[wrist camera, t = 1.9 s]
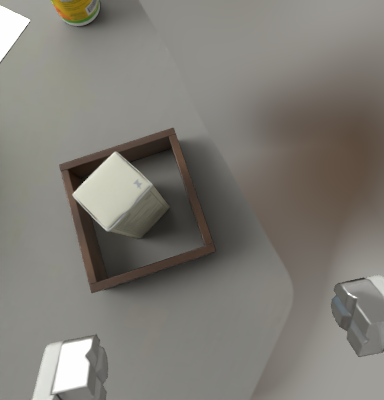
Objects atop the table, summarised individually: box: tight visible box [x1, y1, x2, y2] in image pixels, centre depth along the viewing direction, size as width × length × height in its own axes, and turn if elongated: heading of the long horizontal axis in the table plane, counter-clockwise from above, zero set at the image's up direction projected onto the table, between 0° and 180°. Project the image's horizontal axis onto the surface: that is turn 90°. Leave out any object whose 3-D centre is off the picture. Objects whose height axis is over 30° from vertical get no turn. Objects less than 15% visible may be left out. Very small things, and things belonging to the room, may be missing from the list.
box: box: [72, 152, 169, 239], centre depth 29 cm, size 5×4×11 cm
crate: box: [59, 128, 216, 293], centre depth 33 cm, size 14×13×4 cm
